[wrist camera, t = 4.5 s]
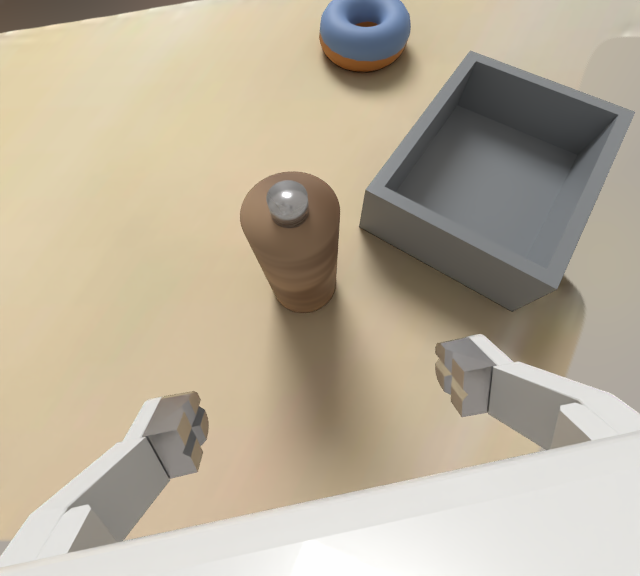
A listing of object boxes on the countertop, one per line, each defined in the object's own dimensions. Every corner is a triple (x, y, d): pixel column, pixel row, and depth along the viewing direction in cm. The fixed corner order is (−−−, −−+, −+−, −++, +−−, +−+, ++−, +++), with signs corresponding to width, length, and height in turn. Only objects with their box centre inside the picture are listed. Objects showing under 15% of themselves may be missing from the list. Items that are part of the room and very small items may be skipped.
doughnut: (413, 74, 33) (422, 23, 29) (322, 83, 34) (318, 34, 30) (400, 27, 38) (406, -23, 34) (319, 36, 38) (316, -12, 34)
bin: (512, 311, 24) (557, 289, 19) (359, 226, 27) (365, 189, 22) (585, 159, 29) (635, 112, 24) (449, 102, 32) (470, 50, 27)
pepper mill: (312, 325, 24) (299, 265, 13) (260, 290, 25) (211, 210, 15) (347, 274, 25) (361, 183, 15) (297, 243, 26) (276, 140, 16)
